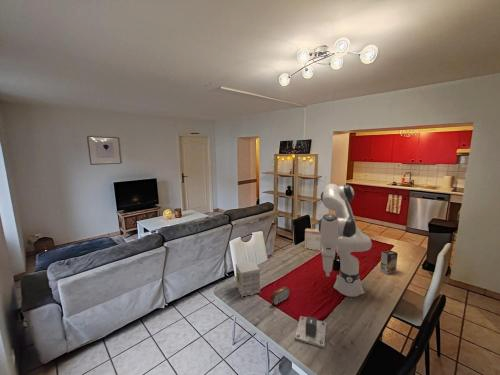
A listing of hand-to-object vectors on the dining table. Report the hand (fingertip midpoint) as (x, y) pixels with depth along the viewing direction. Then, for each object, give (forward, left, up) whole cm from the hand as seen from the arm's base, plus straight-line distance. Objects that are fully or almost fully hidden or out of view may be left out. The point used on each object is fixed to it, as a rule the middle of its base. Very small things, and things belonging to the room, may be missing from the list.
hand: (328, 270), depth 116 cm
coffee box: (-72, +41, -31) cm, 88 cm away
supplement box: (-13, -52, -31) cm, 62 cm away
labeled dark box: (+9, -7, -30) cm, 32 cm away
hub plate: (+9, -7, -31) cm, 33 cm away
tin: (-9, -28, -31) cm, 43 cm away
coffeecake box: (-96, -18, -31) cm, 103 cm away
